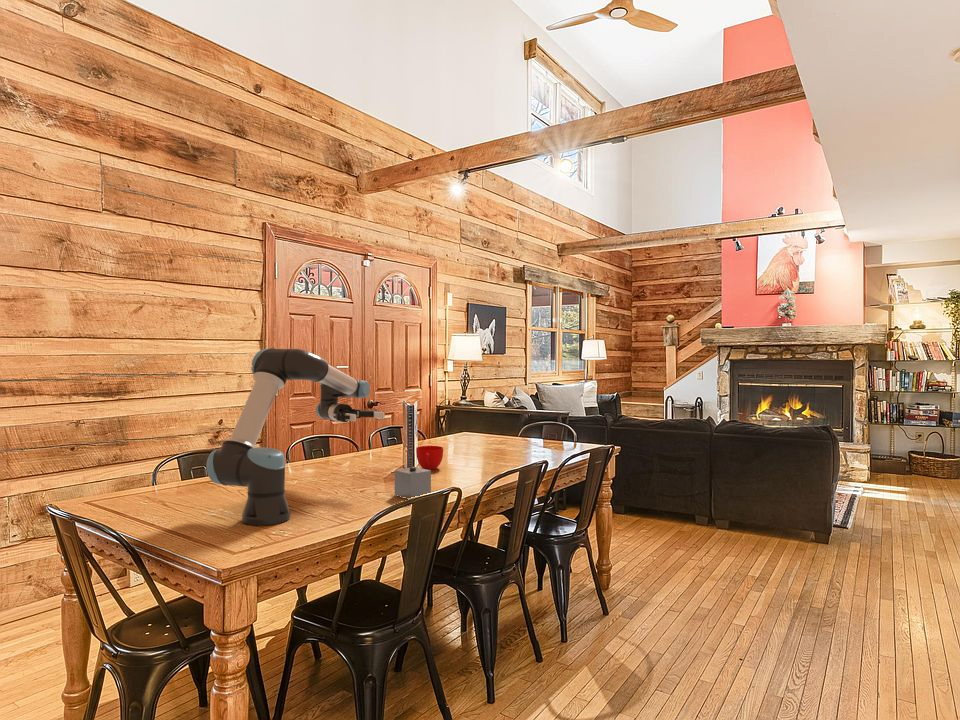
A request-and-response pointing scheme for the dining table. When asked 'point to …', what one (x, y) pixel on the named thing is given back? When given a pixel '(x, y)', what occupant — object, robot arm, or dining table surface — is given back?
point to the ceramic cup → (429, 456)
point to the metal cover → (412, 482)
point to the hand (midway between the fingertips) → (369, 416)
